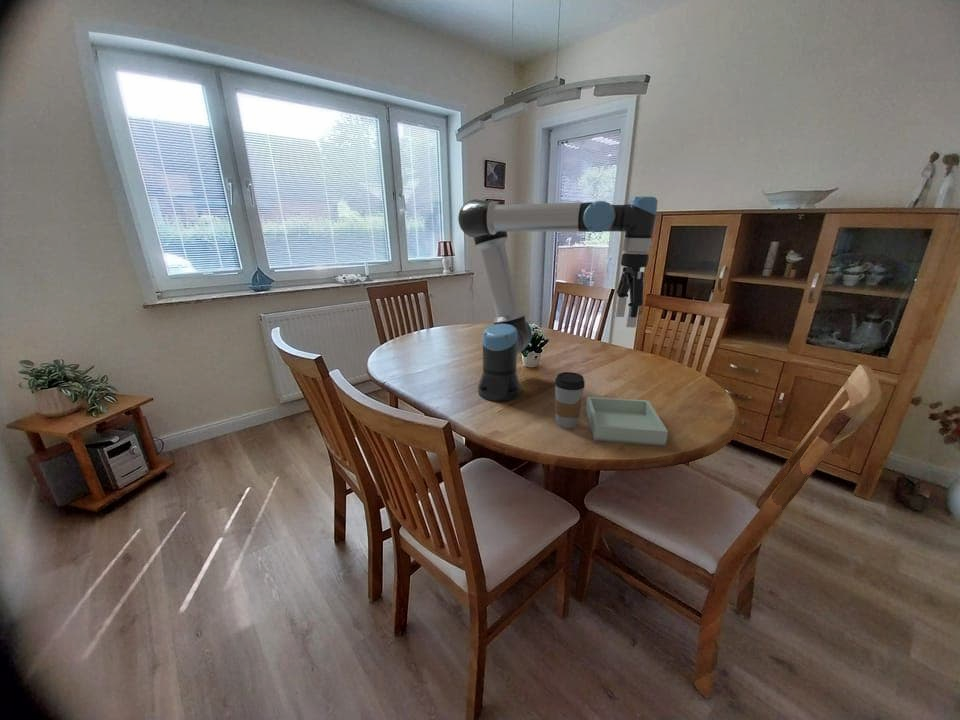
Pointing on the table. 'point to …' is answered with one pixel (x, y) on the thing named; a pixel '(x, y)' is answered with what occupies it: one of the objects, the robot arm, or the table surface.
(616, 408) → the tray
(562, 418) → the coffee cup
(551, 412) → the table surface
